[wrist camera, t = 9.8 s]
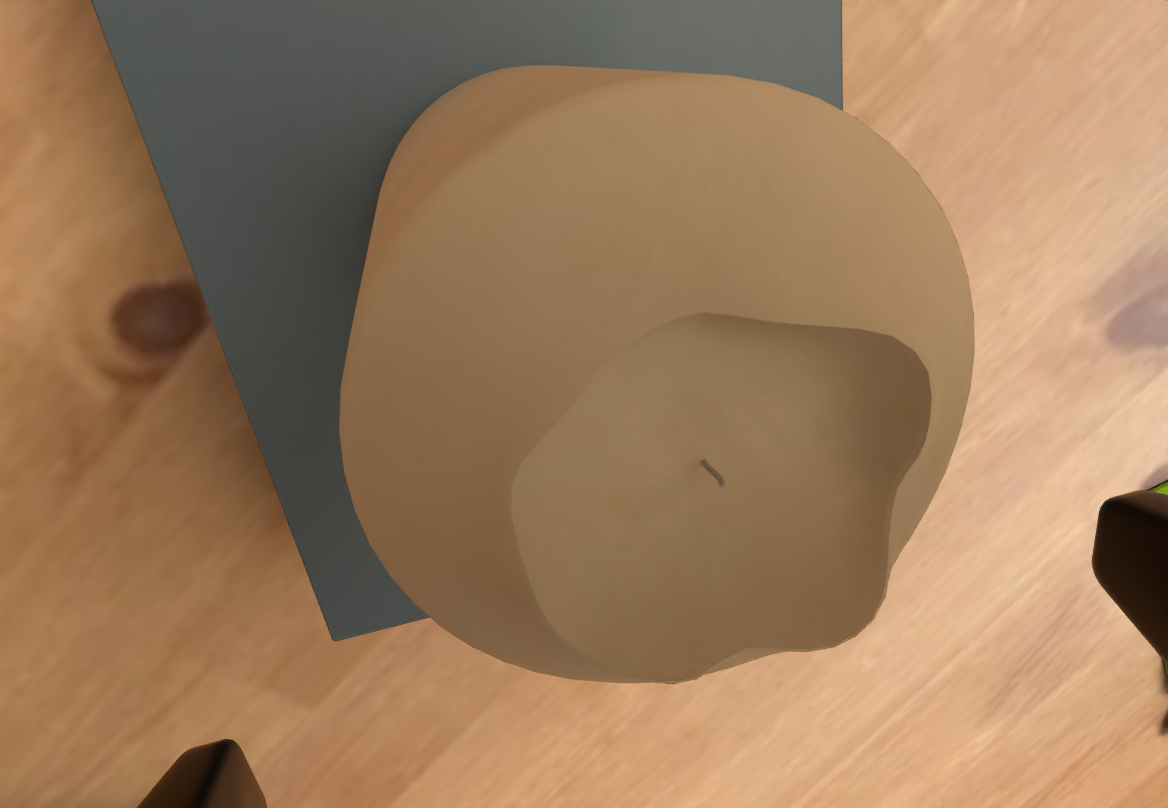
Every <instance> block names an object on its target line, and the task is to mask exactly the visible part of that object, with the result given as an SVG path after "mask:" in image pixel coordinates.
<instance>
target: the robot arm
mask: <svg viewBox="0 0 1168 808" xmlns="http://www.w3.org/2000/svg"><path fill="white" fill-rule="evenodd" d="M1092 567H1093V571H1094V574H1095V576H1096V578H1097V580H1098V582H1099V583H1100V585H1101V586H1102V587H1103V589H1104V590H1105V591H1106V592H1107V593H1108V595H1109V596H1110V597H1111V598H1112V599H1113V600H1114V602H1115V603H1116V604H1117V605H1118V606H1119V608H1120V609H1121V610H1122V611H1123V612H1124V613H1125V615H1126V616H1127V617H1128V618H1129V619H1130V621H1131V622H1132V623H1133V624H1134V625H1135V627H1136V628H1137V629H1138V630H1139V631H1140V632H1141V634H1142V635H1143V636H1144V637H1145V638H1146V640H1147V641H1148V642H1149V643H1150V644H1151V645H1152V647H1153V648H1154V649H1155V650H1156V651H1157V653H1158V654H1159V655H1160V656H1161V657H1162V658H1163V660H1164V661H1165V662H1166V663H1167V664H1168V495H1166V494H1162V493H1158V492H1154V491H1148V490H1139V491H1134V492H1130V493H1127V494H1123V495H1119V496H1116V497H1112V498H1109V499H1108V500H1106V501H1105V502H1104V503H1103V505H1102V506H1101V508H1100V511H1099V515H1098V522H1097V529H1096V535H1095V542H1094V548H1093V555H1092ZM137 808H267V804H266V801H265V797H264V795H263V793H262V791H261V789H260V787H259V785H258V782H257V780H256V778H255V776H254V774H253V772H252V770H251V768H250V766H249V764H248V762H247V760H246V758H245V756H244V754H243V752H242V750H241V748H240V746H239V745H238V744H237V743H236V742H235V741H233V740H230V739H224V740H220V741H216V742H213V743H209V744H205V745H202V746H198V747H194V748H192V749H189V750H187V751H186V752H184V753H183V754H182V755H181V756H180V757H179V758H178V759H177V760H176V762H175V763H174V764H173V765H172V766H171V767H170V769H169V770H168V771H167V772H166V773H165V775H164V776H163V777H162V778H161V779H160V781H159V782H158V783H157V784H156V785H155V786H154V788H153V789H152V790H151V791H150V792H149V794H148V795H147V796H146V797H145V798H144V799H143V801H142V802H141V803H140V804H139V805H138V807H137Z"/></svg>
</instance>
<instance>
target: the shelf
mask: <svg viewBox="0 0 1168 808" xmlns="http://www.w3.org/2000/svg"><path fill="white" fill-rule="evenodd" d="M91 2H92V5H93V8H94V10H95V13H96V16H97V18H98V21H99V23H100V26H101V29H102V31H103V34H104V37H105V39H106V42H107V45H108V47H109V50H110V53H111V55H112V58H113V61H114V63H115V66H116V69H117V71H118V74H119V76H120V79H121V82H122V84H123V87H124V90H125V92H126V95H127V98H128V100H129V103H130V106H131V108H132V111H133V114H134V116H135V119H136V121H137V124H138V127H139V129H140V132H141V135H142V137H143V140H144V143H145V145H146V148H147V151H148V153H149V156H150V159H151V161H152V164H153V167H154V169H155V172H156V174H157V177H158V180H159V182H160V185H161V188H162V190H163V193H164V196H165V198H166V201H167V204H168V206H169V209H170V212H171V214H172V217H173V219H174V222H175V225H176V227H177V230H178V233H179V235H180V238H181V241H182V243H183V246H184V249H185V251H186V254H187V257H188V259H189V262H190V265H191V267H192V270H193V272H194V275H195V278H196V280H197V283H198V286H199V288H200V291H201V294H202V296H203V299H204V302H205V304H206V307H207V310H208V312H209V315H210V317H211V320H212V323H213V325H214V328H215V331H216V333H217V336H218V339H219V341H220V344H221V347H222V349H223V352H224V355H225V357H226V360H227V362H228V365H229V368H230V370H231V373H232V376H233V378H234V381H235V384H236V386H237V389H238V392H239V394H240V397H241V400H242V402H243V405H244V408H245V410H246V413H247V415H248V418H249V421H250V423H251V426H252V429H253V431H254V434H255V437H256V439H257V442H258V445H259V447H260V450H261V453H262V455H263V458H264V460H265V463H266V466H267V468H268V471H269V474H270V476H271V479H272V482H273V484H274V487H275V490H276V492H277V495H278V498H279V500H280V503H281V506H282V508H283V511H284V513H285V516H286V519H287V521H288V524H289V527H290V529H291V532H292V535H293V537H294V540H295V543H296V545H297V548H298V551H299V553H300V556H301V558H302V561H303V564H304V566H305V569H306V572H307V574H308V577H309V580H310V582H311V585H312V588H313V590H314V593H315V596H316V598H317V601H318V604H319V606H320V609H321V611H322V614H323V617H324V619H325V622H326V625H327V627H328V630H329V633H330V635H331V638H332V640H333V641H339V640H343V639H347V638H351V637H355V636H359V635H363V634H367V633H371V632H375V631H378V630H382V629H386V628H390V627H394V626H398V625H402V624H406V623H410V622H414V621H418V620H422V619H425V618H429V616H428V615H427V614H426V613H424V612H423V611H422V610H421V609H420V608H419V607H417V606H416V605H415V604H414V603H413V602H412V600H411V599H410V598H409V597H408V596H407V595H406V594H405V593H404V591H403V590H402V589H401V588H400V587H399V586H398V585H397V583H396V582H395V581H394V580H393V579H392V578H391V576H390V575H389V573H388V572H387V570H386V569H385V567H384V566H383V564H382V563H381V561H380V559H379V558H378V556H377V555H376V553H375V552H374V550H373V549H372V547H371V545H370V543H369V541H368V539H367V537H366V534H365V532H364V530H363V528H362V525H361V523H360V521H359V519H358V516H357V514H356V512H355V509H354V506H353V502H352V499H351V495H350V491H349V488H348V484H347V480H346V477H345V473H344V467H343V458H342V450H341V441H340V433H339V423H340V394H341V383H342V377H343V372H344V367H345V361H346V356H347V350H348V345H349V339H350V334H351V329H352V324H353V319H354V314H355V309H356V304H357V299H358V295H359V290H360V285H361V280H362V275H363V270H364V266H365V261H366V256H367V251H368V246H369V242H370V237H371V232H372V227H373V222H374V217H375V213H376V208H377V203H378V198H379V193H380V189H381V186H382V183H383V180H384V177H385V174H386V171H387V168H388V166H389V163H390V161H391V159H392V157H393V155H394V153H395V151H396V149H397V147H398V145H399V143H400V141H401V140H402V139H403V137H404V136H405V134H406V133H407V131H408V130H409V128H410V127H411V125H412V124H413V123H414V122H415V121H416V120H417V119H418V118H419V116H420V115H421V114H422V113H423V112H424V111H425V110H426V109H427V108H428V107H429V106H430V105H432V104H433V103H434V102H435V101H436V100H438V99H439V98H440V97H441V96H442V95H444V94H445V93H447V92H448V91H450V90H452V89H453V88H455V87H457V86H458V85H460V84H461V83H463V82H466V81H468V80H470V79H473V78H475V77H477V76H479V75H482V74H485V73H489V72H492V71H496V70H500V69H503V68H511V67H519V66H527V65H556V66H574V67H592V68H610V69H628V70H646V71H664V72H682V73H699V74H716V75H728V76H735V77H740V78H746V79H752V80H758V81H764V82H769V83H775V84H778V85H781V86H784V87H787V88H790V89H793V90H796V91H799V92H802V93H805V94H808V95H811V96H814V97H817V98H819V99H821V100H823V101H825V102H827V103H829V104H831V105H832V106H834V107H836V108H838V109H840V110H842V111H843V85H842V0H91Z"/></svg>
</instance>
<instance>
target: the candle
mask: <svg viewBox="0 0 1168 808" xmlns="http://www.w3.org/2000/svg"><path fill="white" fill-rule="evenodd" d="M973 360H974V312H973V306H972V299H971V293H970V286H969V280H968V275H967V272H966V268H965V265H964V262H963V259H962V255H961V252H960V249H959V246H958V242H957V239H956V237H955V235H954V233H953V231H952V229H951V227H950V225H949V223H948V221H947V219H946V216H945V214H944V212H943V210H942V208H941V206H940V204H939V203H938V201H937V200H936V198H935V197H934V196H933V194H932V193H931V191H930V190H929V188H928V187H927V185H926V184H925V183H924V181H923V180H922V178H921V177H920V175H919V174H918V172H917V171H916V170H915V169H914V168H913V167H912V166H911V165H910V164H909V163H908V162H907V161H906V160H905V159H904V158H903V157H902V156H901V155H900V154H899V153H898V151H897V150H896V149H895V148H894V147H893V146H892V145H891V144H890V143H889V142H887V141H886V140H885V139H883V138H882V137H881V136H879V135H878V134H877V133H875V132H874V131H873V130H871V129H870V128H869V127H867V126H866V125H865V124H863V123H862V122H861V121H859V120H858V119H857V118H855V117H853V116H851V115H849V114H848V113H846V112H844V111H842V110H840V109H838V108H836V107H834V106H832V105H831V104H829V103H827V102H825V101H823V100H821V99H819V98H817V97H814V96H811V95H808V94H805V93H802V92H799V91H796V90H793V89H790V88H787V87H784V86H781V85H778V84H775V83H769V82H764V81H758V80H752V79H746V78H740V77H735V76H728V75H716V74H699V73H682V72H664V71H646V70H628V69H610V68H592V67H574V66H556V65H527V66H519V67H511V68H503V69H500V70H496V71H492V72H489V73H485V74H482V75H479V76H477V77H475V78H473V79H470V80H468V81H466V82H463V83H461V84H460V85H458V86H457V87H455V88H453V89H452V90H450V91H448V92H447V93H445V94H444V95H442V96H441V97H440V98H439V99H438V100H436V101H435V102H434V103H433V104H432V105H430V106H429V107H428V108H427V109H426V110H425V111H424V112H423V113H422V114H421V115H420V116H419V118H418V119H417V120H416V121H415V122H414V123H413V124H412V125H411V127H410V128H409V130H408V131H407V133H406V134H405V136H404V137H403V139H402V140H401V141H400V143H399V145H398V147H397V149H396V151H395V153H394V155H393V157H392V159H391V161H390V163H389V166H388V168H387V171H386V174H385V177H384V180H383V183H382V186H381V189H380V193H379V198H378V203H377V208H376V213H375V217H374V222H373V227H372V232H371V237H370V242H369V246H368V251H367V256H366V261H365V266H364V270H363V275H362V280H361V285H360V290H359V295H358V299H357V304H356V309H355V314H354V319H353V324H352V329H351V334H350V339H349V345H348V350H347V356H346V361H345V367H344V372H343V377H342V383H341V394H340V423H339V433H340V441H341V450H342V458H343V467H344V473H345V477H346V480H347V484H348V488H349V491H350V495H351V499H352V502H353V506H354V509H355V512H356V514H357V516H358V519H359V521H360V523H361V525H362V528H363V530H364V532H365V534H366V537H367V539H368V541H369V543H370V545H371V547H372V549H373V550H374V552H375V553H376V555H377V556H378V558H379V559H380V561H381V563H382V564H383V566H384V567H385V569H386V570H387V572H388V573H389V575H390V576H391V578H392V579H393V580H394V581H395V582H396V583H397V585H398V586H399V587H400V588H401V589H402V590H403V591H404V593H405V594H406V595H407V596H408V597H409V598H410V599H411V600H412V602H413V603H414V604H415V605H416V606H417V607H419V608H420V609H421V610H422V611H423V612H424V613H426V614H427V615H428V616H429V617H430V618H431V619H433V620H434V621H435V622H436V623H437V624H438V625H440V626H441V627H442V628H443V629H445V630H447V631H448V632H450V633H451V634H453V635H454V636H456V637H458V638H459V639H461V640H462V641H464V642H465V643H467V644H468V645H470V646H472V647H474V648H476V649H478V650H480V651H482V652H484V653H486V654H489V655H491V656H493V657H495V658H497V659H499V660H501V661H503V662H506V663H509V664H513V665H516V666H519V667H522V668H525V669H528V670H531V671H534V672H537V673H542V674H548V675H553V676H558V677H563V678H568V679H574V680H586V681H599V682H612V683H650V682H654V683H666V684H676V683H680V682H685V681H690V680H694V679H697V678H699V677H701V676H702V675H705V674H709V673H713V672H716V671H720V670H724V669H728V668H731V667H734V666H737V665H740V664H743V663H746V662H749V661H752V660H756V659H759V658H762V657H765V656H768V655H771V654H776V653H780V652H786V651H794V652H810V651H815V650H821V649H826V648H832V647H835V646H837V645H839V644H841V643H843V642H845V641H847V640H849V639H851V638H854V637H856V636H857V635H858V634H859V633H860V632H861V631H862V630H863V629H864V628H865V627H866V626H867V625H868V624H869V623H871V622H872V621H873V620H874V618H875V616H876V614H877V612H878V610H879V608H880V606H881V604H882V603H883V601H884V599H885V596H886V591H887V585H888V580H889V576H890V572H891V569H892V567H893V565H894V563H895V561H896V559H897V558H898V556H899V554H900V552H901V551H902V549H903V548H904V546H905V545H906V543H907V542H908V541H909V539H910V537H911V536H912V534H913V532H914V530H915V529H916V527H917V525H918V524H919V522H920V520H921V518H922V517H923V515H924V513H925V512H926V510H927V508H928V506H929V504H930V502H931V500H932V498H933V496H934V494H935V492H936V490H937V488H938V486H939V484H940V482H941V480H942V478H943V476H944V474H945V472H946V469H947V467H948V464H949V461H950V458H951V456H952V453H953V450H954V447H955V445H956V442H957V439H958V436H959V433H960V429H961V426H962V421H963V417H964V413H965V409H966V404H967V400H968V396H969V392H970V387H971V378H972V369H973Z"/></svg>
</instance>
